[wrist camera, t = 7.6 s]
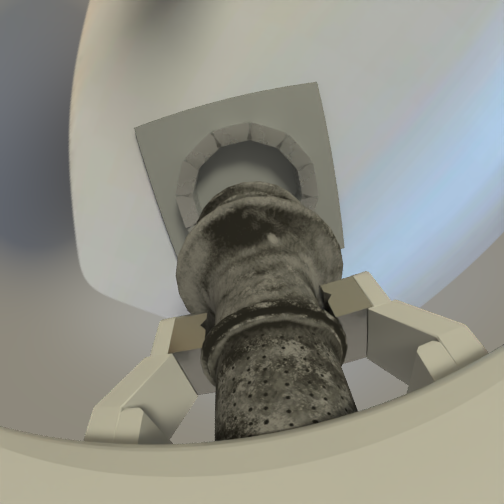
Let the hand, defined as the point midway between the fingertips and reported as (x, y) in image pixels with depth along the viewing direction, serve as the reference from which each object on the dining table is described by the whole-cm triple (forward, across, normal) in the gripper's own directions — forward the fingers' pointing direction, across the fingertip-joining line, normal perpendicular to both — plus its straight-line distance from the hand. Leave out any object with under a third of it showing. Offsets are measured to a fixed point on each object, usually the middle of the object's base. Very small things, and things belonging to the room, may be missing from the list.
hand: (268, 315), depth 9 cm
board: (+16, 0, 0) cm, 16 cm away
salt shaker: (+6, 0, 0) cm, 6 cm away
